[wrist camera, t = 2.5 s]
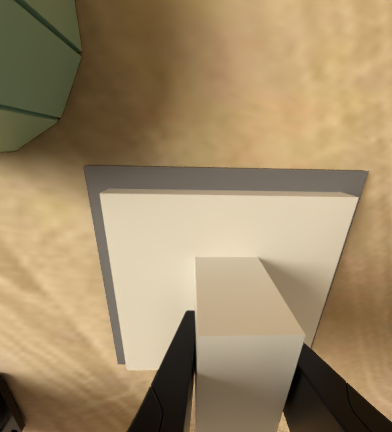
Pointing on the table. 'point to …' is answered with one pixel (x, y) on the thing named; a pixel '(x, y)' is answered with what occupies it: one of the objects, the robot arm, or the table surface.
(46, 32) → the bowl
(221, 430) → the lid
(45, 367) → the table surface
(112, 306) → the mat
